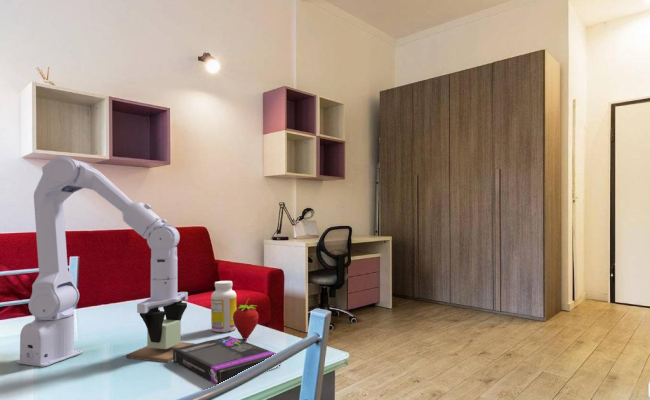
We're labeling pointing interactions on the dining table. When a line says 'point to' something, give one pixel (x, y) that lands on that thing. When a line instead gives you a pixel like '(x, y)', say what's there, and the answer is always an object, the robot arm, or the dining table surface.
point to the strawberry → (245, 319)
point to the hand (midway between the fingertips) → (164, 338)
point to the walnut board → (156, 353)
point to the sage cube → (167, 335)
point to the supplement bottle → (223, 307)
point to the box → (220, 358)
